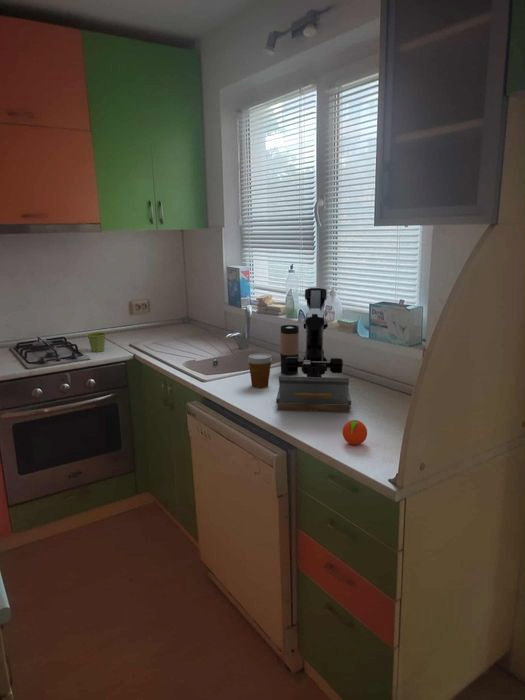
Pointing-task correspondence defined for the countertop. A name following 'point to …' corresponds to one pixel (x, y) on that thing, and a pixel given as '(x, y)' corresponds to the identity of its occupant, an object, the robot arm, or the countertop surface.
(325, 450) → the countertop surface
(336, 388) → the panel
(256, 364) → the disposable coffee cup
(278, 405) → the tray
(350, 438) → the clementine
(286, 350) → the travel mug
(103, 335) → the plant pot
